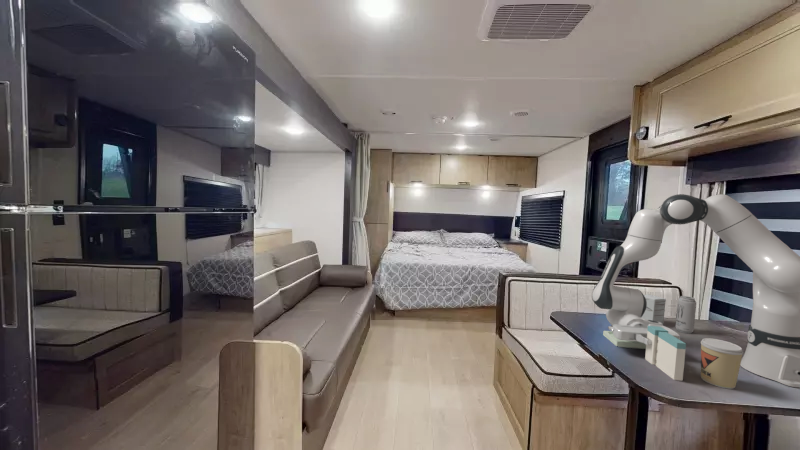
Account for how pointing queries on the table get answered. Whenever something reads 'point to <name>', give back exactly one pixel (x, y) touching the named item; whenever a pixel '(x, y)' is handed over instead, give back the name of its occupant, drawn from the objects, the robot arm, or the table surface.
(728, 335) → the table surface
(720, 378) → the coffee cup
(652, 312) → the supplement box
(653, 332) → the white teal-topped block
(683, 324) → the energy drink can
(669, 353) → the teal and white box
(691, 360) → the table surface
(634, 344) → the tray
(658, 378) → the table surface
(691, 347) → the table surface
